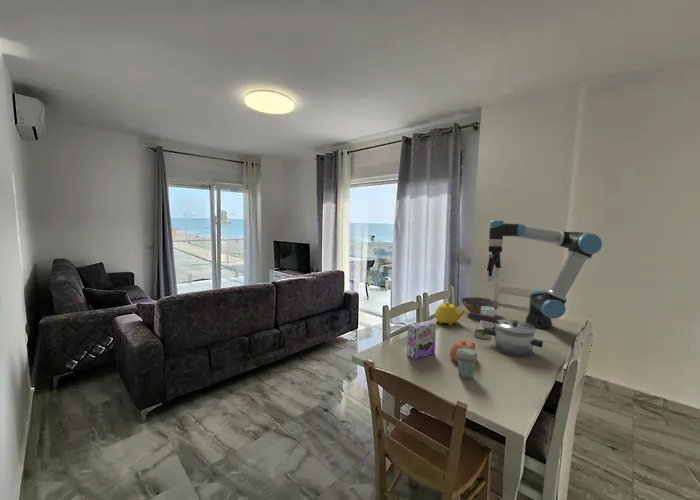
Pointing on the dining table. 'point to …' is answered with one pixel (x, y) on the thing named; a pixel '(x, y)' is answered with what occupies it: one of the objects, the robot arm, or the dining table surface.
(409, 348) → the candy box
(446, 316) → the teapot
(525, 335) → the pot
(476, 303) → the bowl
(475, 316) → the lid
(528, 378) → the dining table surface
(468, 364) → the coffee cup
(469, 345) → the sugar bowl
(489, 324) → the mug
